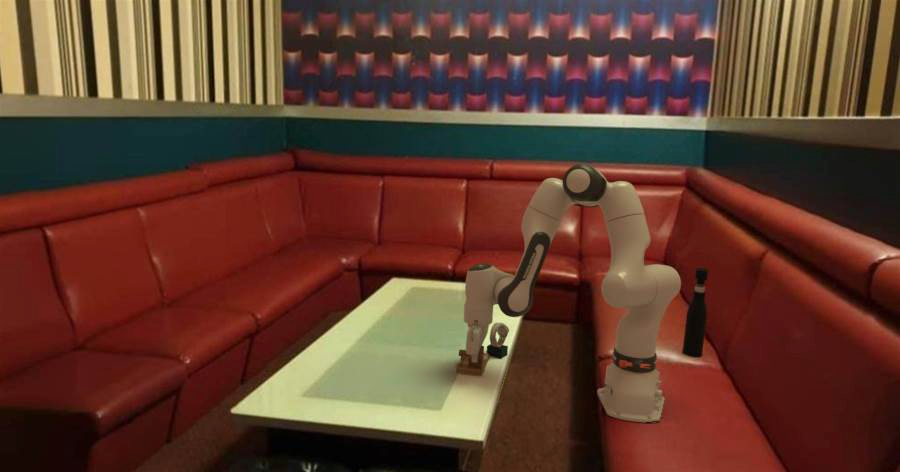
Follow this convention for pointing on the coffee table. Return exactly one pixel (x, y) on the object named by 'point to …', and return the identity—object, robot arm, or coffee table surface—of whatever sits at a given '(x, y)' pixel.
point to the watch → (496, 347)
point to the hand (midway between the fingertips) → (476, 358)
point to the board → (470, 370)
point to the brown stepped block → (463, 353)
